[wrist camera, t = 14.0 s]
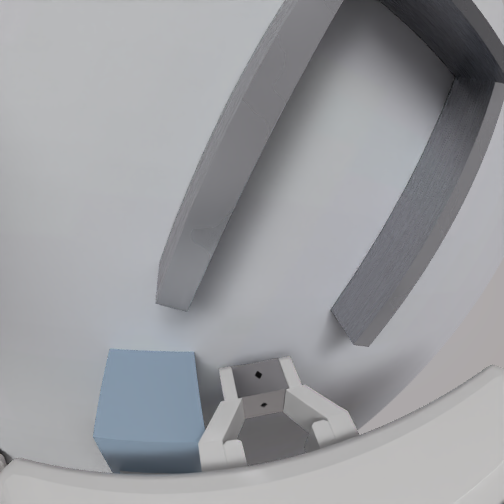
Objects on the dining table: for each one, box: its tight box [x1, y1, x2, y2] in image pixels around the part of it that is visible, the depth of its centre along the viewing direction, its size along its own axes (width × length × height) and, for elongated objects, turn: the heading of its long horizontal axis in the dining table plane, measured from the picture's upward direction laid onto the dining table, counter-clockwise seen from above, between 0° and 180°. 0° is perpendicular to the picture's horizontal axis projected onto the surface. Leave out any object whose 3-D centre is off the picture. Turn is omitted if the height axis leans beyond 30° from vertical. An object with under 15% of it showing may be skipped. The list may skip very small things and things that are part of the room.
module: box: [93, 349, 205, 474], centre depth 11 cm, size 6×4×6 cm, turn 171°
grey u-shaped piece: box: [156, 0, 504, 347], centre depth 8 cm, size 14×9×3 cm, turn 154°
